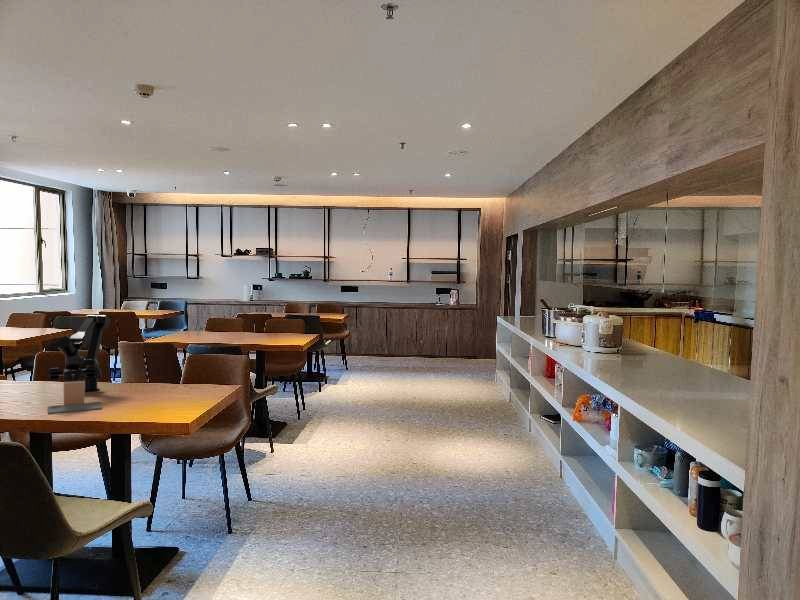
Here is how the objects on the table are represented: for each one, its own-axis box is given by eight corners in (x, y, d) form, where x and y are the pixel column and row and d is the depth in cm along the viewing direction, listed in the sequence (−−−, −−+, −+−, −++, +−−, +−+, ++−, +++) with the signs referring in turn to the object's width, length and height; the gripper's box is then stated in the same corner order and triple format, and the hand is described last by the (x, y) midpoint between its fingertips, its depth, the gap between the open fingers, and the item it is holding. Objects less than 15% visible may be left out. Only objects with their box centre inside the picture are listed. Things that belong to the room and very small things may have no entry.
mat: (47, 407, 248) (47, 406, 248) (99, 403, 259) (99, 401, 259) (47, 414, 237) (47, 412, 237) (102, 409, 248) (102, 407, 248)
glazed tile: (63, 404, 255) (63, 382, 255) (84, 402, 259) (84, 380, 259) (63, 405, 253) (63, 383, 252) (84, 403, 257) (84, 381, 256)
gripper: (48, 350, 257) (49, 378, 248) (95, 348, 267) (97, 375, 258) (48, 365, 264) (49, 393, 255) (94, 363, 274) (96, 390, 265)
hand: (73, 387), depth 258 cm, fingers closed
